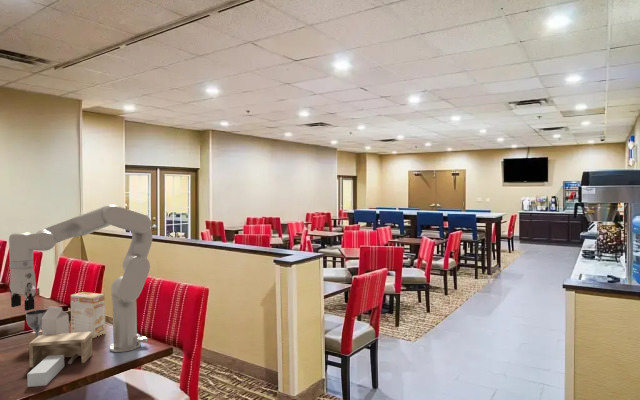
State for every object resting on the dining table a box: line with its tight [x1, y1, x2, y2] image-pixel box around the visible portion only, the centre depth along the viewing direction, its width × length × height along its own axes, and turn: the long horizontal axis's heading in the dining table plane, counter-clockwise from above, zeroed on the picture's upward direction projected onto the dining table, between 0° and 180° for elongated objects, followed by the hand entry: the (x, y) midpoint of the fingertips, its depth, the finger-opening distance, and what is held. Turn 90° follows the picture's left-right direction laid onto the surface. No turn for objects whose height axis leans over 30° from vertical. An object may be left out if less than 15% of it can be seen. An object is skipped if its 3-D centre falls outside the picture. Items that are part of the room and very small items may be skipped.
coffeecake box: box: [70, 291, 106, 339], centre depth 201 cm, size 15×7×20 cm, turn 69°
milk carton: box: [41, 306, 70, 335], centre depth 182 cm, size 7×7×19 cm
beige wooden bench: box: [28, 332, 93, 368], centre depth 171 cm, size 20×9×10 cm, turn 102°
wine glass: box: [25, 308, 48, 348], centre depth 188 cm, size 8×8×15 cm
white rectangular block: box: [26, 355, 65, 388], centre depth 157 cm, size 6×16×5 cm, turn 11°
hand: (22, 308), depth 162 cm, fingers open, 9 cm apart
